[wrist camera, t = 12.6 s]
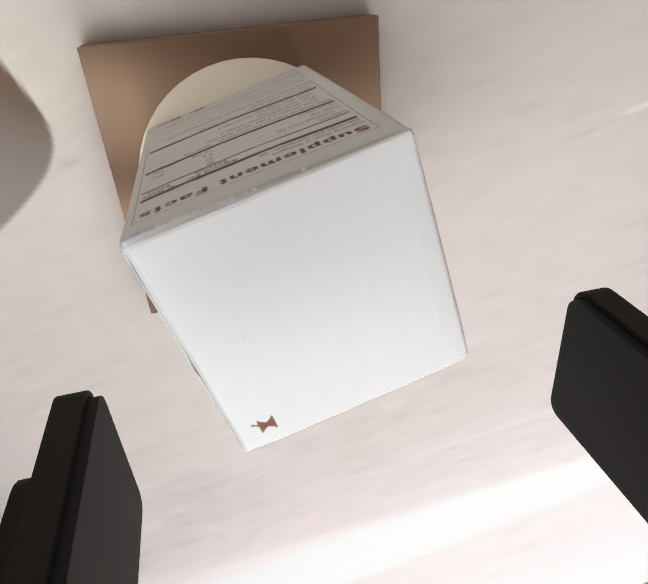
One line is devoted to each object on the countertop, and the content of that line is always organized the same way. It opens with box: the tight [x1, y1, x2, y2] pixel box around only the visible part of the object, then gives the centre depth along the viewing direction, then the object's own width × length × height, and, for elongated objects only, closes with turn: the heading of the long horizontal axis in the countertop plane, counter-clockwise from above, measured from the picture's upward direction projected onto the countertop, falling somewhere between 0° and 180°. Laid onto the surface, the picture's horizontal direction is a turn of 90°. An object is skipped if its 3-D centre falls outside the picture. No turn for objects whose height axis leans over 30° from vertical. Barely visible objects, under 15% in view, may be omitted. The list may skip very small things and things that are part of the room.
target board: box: [77, 14, 381, 313], centre depth 25 cm, size 12×12×1 cm
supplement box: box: [120, 65, 468, 452], centre depth 19 cm, size 7×7×13 cm
